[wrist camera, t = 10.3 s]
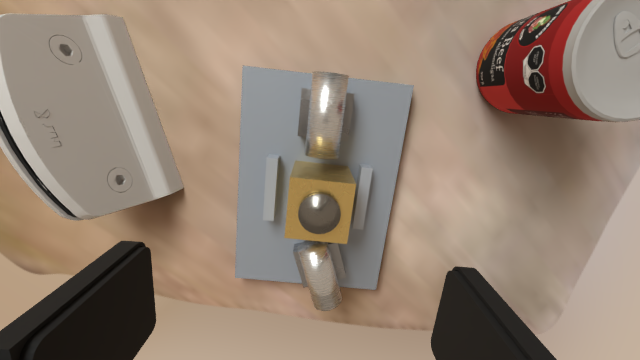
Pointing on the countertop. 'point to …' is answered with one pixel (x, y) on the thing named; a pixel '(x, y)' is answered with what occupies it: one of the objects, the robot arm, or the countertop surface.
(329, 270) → the shaft
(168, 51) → the countertop surface
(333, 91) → the shaft
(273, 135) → the board
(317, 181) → the coupler
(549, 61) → the canned food
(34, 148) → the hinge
